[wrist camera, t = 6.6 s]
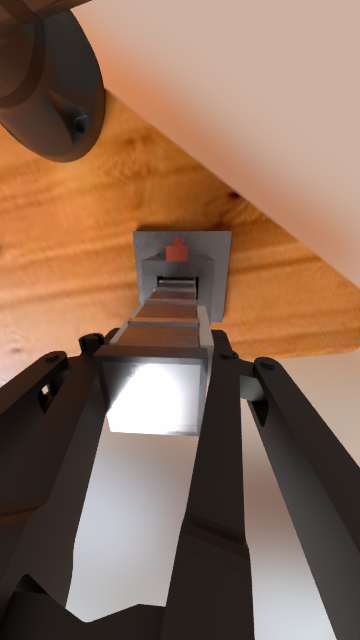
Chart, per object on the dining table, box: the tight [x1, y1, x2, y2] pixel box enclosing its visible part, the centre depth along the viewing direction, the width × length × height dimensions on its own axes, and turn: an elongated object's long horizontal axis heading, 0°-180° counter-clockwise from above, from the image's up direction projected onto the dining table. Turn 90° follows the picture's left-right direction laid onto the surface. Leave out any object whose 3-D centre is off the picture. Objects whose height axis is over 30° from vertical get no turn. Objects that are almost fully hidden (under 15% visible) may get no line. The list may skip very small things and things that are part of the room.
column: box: [93, 276, 209, 436], centre depth 18 cm, size 5×5×22 cm
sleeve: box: [133, 231, 232, 324], centre depth 28 cm, size 16×16×12 cm
